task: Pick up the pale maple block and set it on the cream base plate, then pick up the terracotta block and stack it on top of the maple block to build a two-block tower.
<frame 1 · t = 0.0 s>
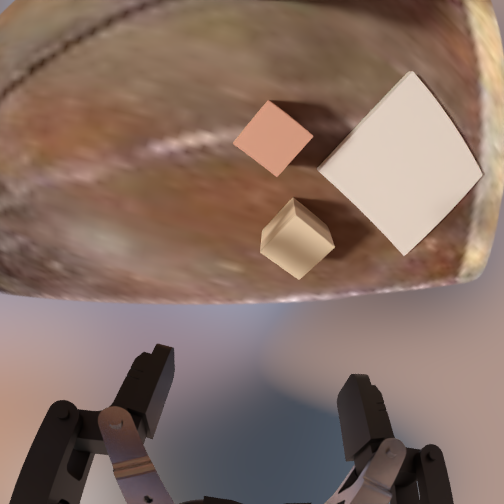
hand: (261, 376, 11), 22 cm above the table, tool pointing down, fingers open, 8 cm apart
terracotta block: (273, 132, 26), on the table
base plate: (410, 167, 26), on the table
maple block: (295, 227, 32), on the table
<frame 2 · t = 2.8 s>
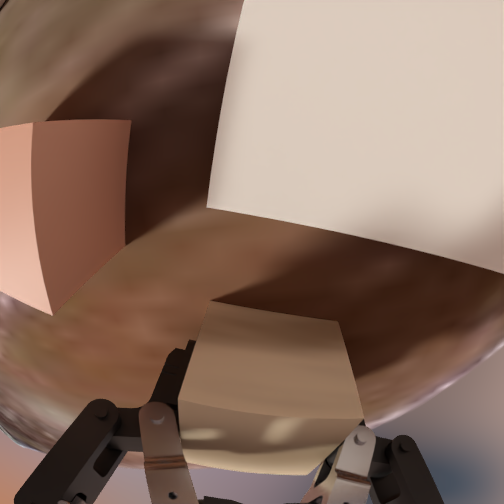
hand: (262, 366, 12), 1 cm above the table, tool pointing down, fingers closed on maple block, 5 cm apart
terracotta block: (78, 180, 9), on the table
base plate: (453, 58, 6), on the table
maple block: (263, 357, 12), on the table, touching gripper
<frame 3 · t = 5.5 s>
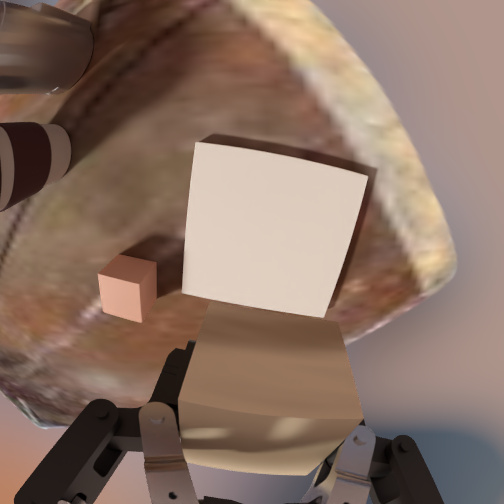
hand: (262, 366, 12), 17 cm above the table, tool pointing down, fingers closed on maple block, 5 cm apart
terracotta block: (138, 276, 30), on the table
coffee cup: (54, 152, 25), on the table
base plate: (268, 234, 27), on the table
maple block: (263, 357, 12), point 16 cm above the table, touching gripper
when the fingers open (3 cm above the table, at t = 8.5 s): maple block drops 1 cm, resting on base plate.
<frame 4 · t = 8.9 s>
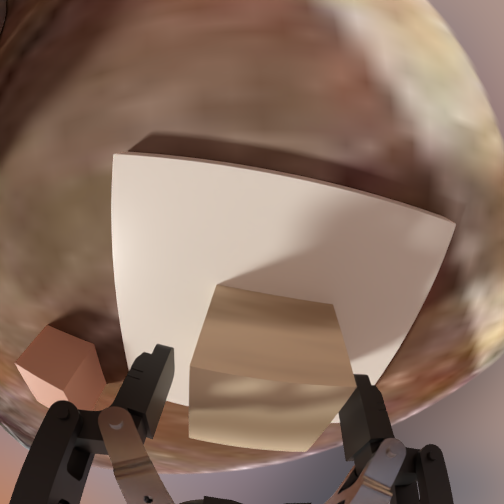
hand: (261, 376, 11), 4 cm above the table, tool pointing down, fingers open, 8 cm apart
terracotta block: (76, 355, 18), on the table
base plate: (264, 324, 15), on the table
maple block: (264, 339, 13), point 1 cm above the table, touching base plate
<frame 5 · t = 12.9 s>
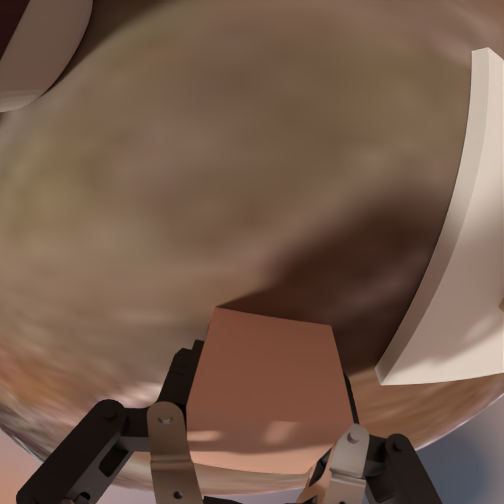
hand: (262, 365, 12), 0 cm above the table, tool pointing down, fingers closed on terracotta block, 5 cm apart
terracotta block: (263, 357, 12), on the table, touching gripper
coffee cup: (42, 40, 6), on the table
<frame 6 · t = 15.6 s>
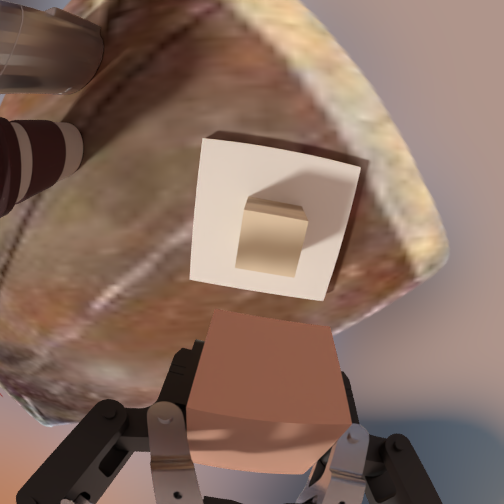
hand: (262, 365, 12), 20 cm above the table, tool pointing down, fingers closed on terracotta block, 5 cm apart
terracotta block: (262, 358, 12), point 19 cm above the table, touching gripper
coffee cup: (65, 149, 27), on the table
base plate: (269, 222, 29), on the table
maple block: (270, 226, 28), point 1 cm above the table, touching base plate
when the fingers open (8 cm above the table, at t = 18.2 s): terracotta block drops 1 cm, resting on maple block.
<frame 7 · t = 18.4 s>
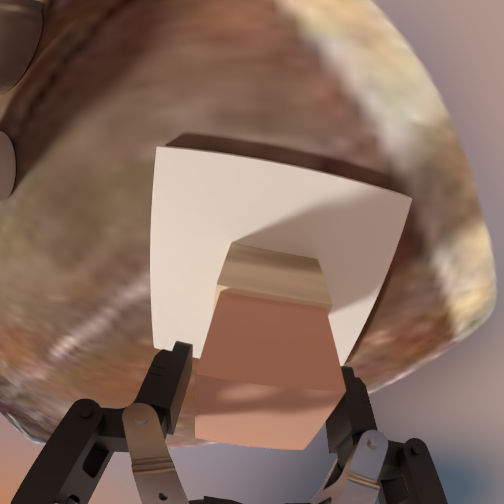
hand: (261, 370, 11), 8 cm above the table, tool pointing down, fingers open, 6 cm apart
terracotta block: (264, 339, 13), point 6 cm above the table, touching maple block
coffee cup: (1, 166, 17), on the table
base plate: (265, 279, 19), on the table
maple block: (266, 288, 18), point 1 cm above the table, touching base plate, terracotta block
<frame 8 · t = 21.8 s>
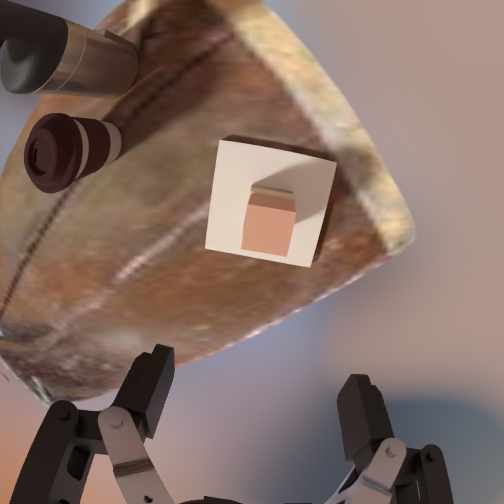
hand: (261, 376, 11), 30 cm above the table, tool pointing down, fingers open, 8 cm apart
terracotta block: (268, 217, 33), point 6 cm above the table, touching maple block
coffee cup: (104, 143, 36), on the table
base plate: (268, 204, 39), on the table
maple block: (268, 206, 37), point 1 cm above the table, touching base plate, terracotta block
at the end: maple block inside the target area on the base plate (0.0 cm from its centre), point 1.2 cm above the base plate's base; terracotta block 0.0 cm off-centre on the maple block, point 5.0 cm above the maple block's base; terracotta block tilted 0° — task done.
